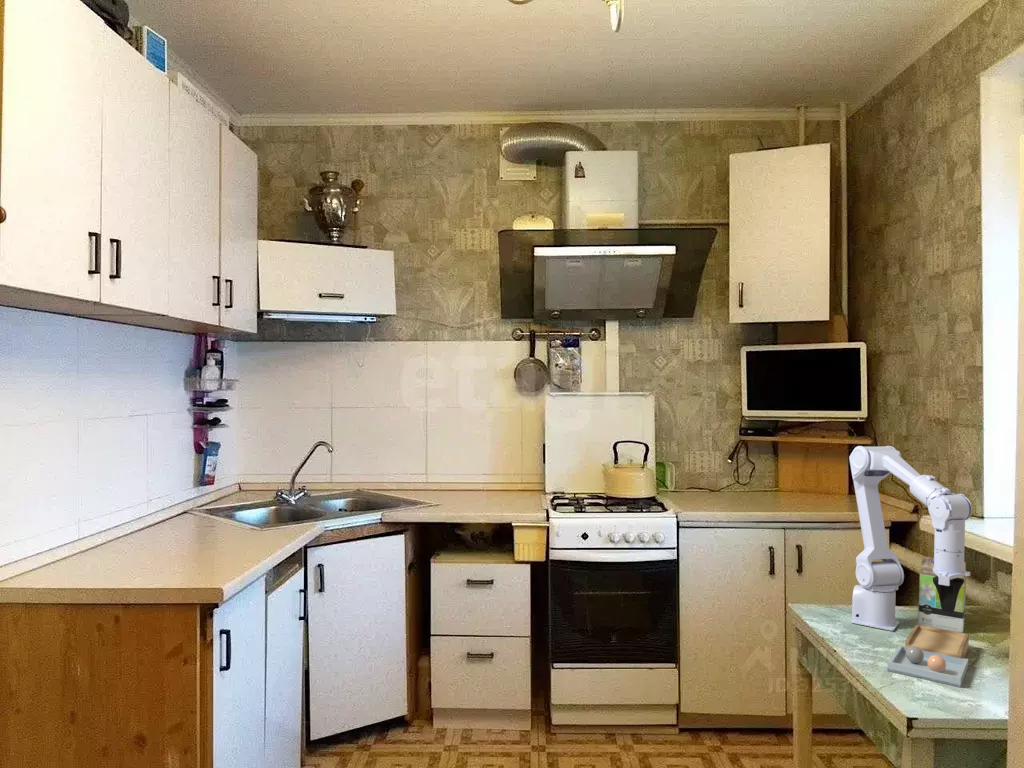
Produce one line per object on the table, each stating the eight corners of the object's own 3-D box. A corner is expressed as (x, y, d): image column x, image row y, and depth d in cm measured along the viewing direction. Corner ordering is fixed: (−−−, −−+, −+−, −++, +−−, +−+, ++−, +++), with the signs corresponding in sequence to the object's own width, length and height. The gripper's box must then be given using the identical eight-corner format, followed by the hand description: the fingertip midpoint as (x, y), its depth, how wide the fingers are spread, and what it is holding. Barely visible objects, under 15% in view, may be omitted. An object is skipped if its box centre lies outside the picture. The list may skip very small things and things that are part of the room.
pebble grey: (908, 661, 157) (903, 661, 155) (908, 644, 158) (903, 644, 156) (926, 664, 155) (921, 665, 153) (926, 647, 156) (921, 648, 153)
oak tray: (905, 655, 161) (905, 640, 161) (916, 637, 172) (916, 624, 172) (960, 666, 155) (961, 651, 155) (968, 648, 166) (968, 634, 166)
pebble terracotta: (925, 659, 150) (925, 651, 153) (929, 675, 150) (929, 667, 153) (944, 659, 148) (944, 651, 151) (948, 675, 148) (947, 667, 151)
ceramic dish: (887, 670, 152) (887, 662, 152) (899, 652, 162) (899, 644, 162) (960, 687, 144) (960, 678, 144) (968, 667, 154) (968, 659, 154)
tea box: (965, 634, 176) (966, 572, 175) (917, 626, 181) (918, 566, 181) (965, 617, 188) (966, 559, 188) (920, 610, 194) (921, 554, 194)
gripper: (966, 558, 152) (965, 623, 153) (974, 546, 164) (973, 607, 164) (927, 553, 157) (926, 616, 157) (938, 541, 168) (937, 600, 168)
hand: (947, 611), depth 161 cm, fingers closed
